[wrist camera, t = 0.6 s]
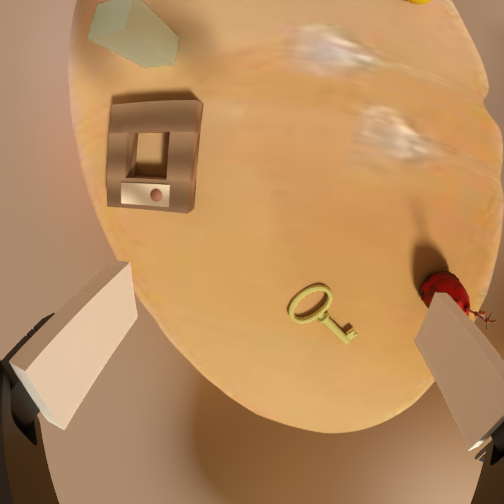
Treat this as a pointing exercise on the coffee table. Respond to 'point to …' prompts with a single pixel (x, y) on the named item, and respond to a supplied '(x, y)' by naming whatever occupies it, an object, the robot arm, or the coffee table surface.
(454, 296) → the red clay folk toy
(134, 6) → the sage peg
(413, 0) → the fruit
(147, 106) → the socket block
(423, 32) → the coffee table surface
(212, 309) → the coffee table surface
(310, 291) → the key
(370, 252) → the coffee table surface
